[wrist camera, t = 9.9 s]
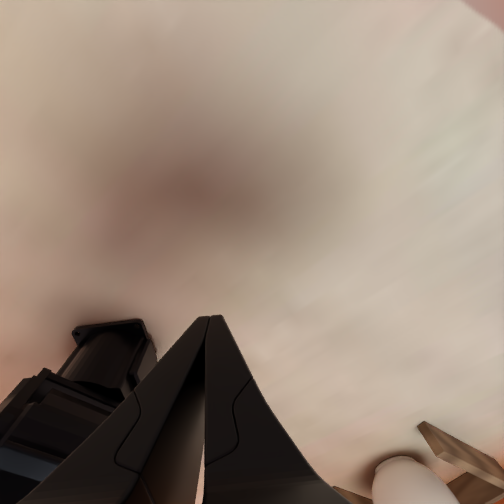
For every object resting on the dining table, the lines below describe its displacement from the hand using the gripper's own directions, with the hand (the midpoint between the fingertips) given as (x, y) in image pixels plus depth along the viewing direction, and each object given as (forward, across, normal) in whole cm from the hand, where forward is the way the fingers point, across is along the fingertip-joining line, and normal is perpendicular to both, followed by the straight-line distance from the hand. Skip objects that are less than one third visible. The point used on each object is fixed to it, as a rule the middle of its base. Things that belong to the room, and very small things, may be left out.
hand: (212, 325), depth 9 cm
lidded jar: (+13, -20, +40) cm, 47 cm away
